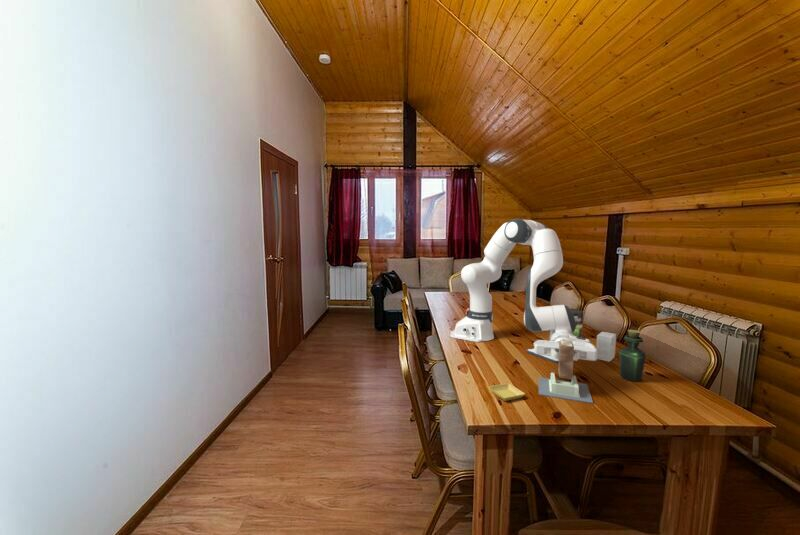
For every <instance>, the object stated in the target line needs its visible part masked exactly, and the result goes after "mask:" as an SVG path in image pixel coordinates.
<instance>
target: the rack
mask: <svg viewBox="0 0 800 535" xmlns="http://www.w3.org/2000/svg"><path fill="white" fill-rule="evenodd" d="M555 374H556V373H555V372H553V371H552V372H550V378H549V379H550V380H549V389H550V393H554V394H560V395H566V396H572V397H578V398H580V394H579V387H578V383H579V382H578V379H577V376H576V375H573V379H570V381H568V382H562V381H563V380H561V381H555V380H556V376H555ZM569 382H571V383H569Z"/></svg>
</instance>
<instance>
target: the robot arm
mask: <svg viewBox="0 0 800 535" xmlns="http://www.w3.org/2000/svg"><path fill="white" fill-rule="evenodd" d="M495 231H496V232H494V234H493V235H492V236H491V239H490V240H489V241H488V243H487V244H486V246H485V247H484V250H483V253H484V257H483V260H482V261H480V262H474V263H469V264H467V265H465V266H464V267H463V268H461V271H460V277H461V280H462V282H463V283H464V284H465V285H466V287H467V289H468V294H469V307H468V308H467V309H466V310H465V316H464V317H463V318H461V319H460V320H459V321H457V322H456V324H455V327H454V329H453V330H451V332H450V334H449V335H450V337H451V338H453V339H459V340H464V341H470V342H473V343H474V342H475V343H480V342H487V341H491V340H492V341H493V340H494V339H495V335H494V330H493V319H494V317H493V316H494V315H493V314H494V313H493V310H492V309H493V307H492V306H493V296H492V295H493V294H491V293H490V292H489V291H488V287H487V286H488V285H487V284H490V283H494V282H496V281H499V279H500V278H502V277H501V276H502V271H503V270H502V266H503V264H504V262H505V260H506V259H507V257H508V256H509V255H510V253H511V252H512V251H513V249H514V248H515V246H516V245H517V244H519V245H522V246H530V247H531V249H532V254H533V263H532V266H531V267H530V269H528V271H527V274H526V284H525V285H526V286H525V304H524V305H525V306H524V313H523V324H524V326H525V328H526V329H527V330H528V331H530V332H532V333H541V332H544V331H547V332H549V331H550V332H549V339H548V340H546V339H544V340H543V339H536V340H535V341H534V342H533V344H532V345H533V346H534V347H533V348H534V353H536V354H539V355H548V356H553V357H555V358H557V359H559V358H560V357H559V356H560V354H559V341H561V340H563V341H571V342H572V343H573V346H574V356H573V362H574V361H575V362H577V361H578V360H583V361H590V362H591V361H592V362H595V361H597V360H598V359H597V349H596V347H595V345H594V344H593V343H591V342H590V339H589V338H585V337H582V338H580V337H576V336H573V334H572V333H574V331H575V329H576V323H575V318H574V315H573V313H572V310H571V309H572V308H570V307H569V306H568V305H566V304H556V305H549V306H548V305H547V306H537V305H536V304H537V288H538V285H539V284H541V283H542V282H544V281H545V280H547V279H549V278H551V277H553V276H554V275H556V274H557V273H558V272H560V271H561V269H562V268H563V265H564V257H563V256H564V254H563V250H562V246H561V241H560V239H559V236H558V234H557V233H556V231H555V230H554V229H551V228H549V227H548V226H547V225H545V224H544V223H541V222H539V221H535V220H532V219H523V218H522V219H521V218H513V219H510V220H509V221H507V222H504V223H503V224H502V225H501V226H500V227H499V228H498V229H497V230H495Z"/></svg>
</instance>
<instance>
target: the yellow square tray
mask: <svg viewBox="0 0 800 535" xmlns="http://www.w3.org/2000/svg"><path fill="white" fill-rule="evenodd" d="M488 389H489V390H490V391H491V393H493V394H494V395H495V396H496V397H498V398H500V399H501V400H502V401H504V402H507V401H513V400H516V399H520V398H523V397H524V396H525V395H526V393H525V391H524V392H523V391H522V390H520V389H519V388H517V387H516V386H514V385H513V384H511V383H508V382H507V383H500V384H496V385H495V384H494V385H489V386H488Z"/></svg>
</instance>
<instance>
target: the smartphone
mask: <svg viewBox="0 0 800 535" xmlns="http://www.w3.org/2000/svg"><path fill="white" fill-rule="evenodd" d="M525 351H526V354H529V355H532V356H535V357H538V358H540V359H543V360H546V361H549V362H551V363H554V364H558V362H559V359H557V358H555V357H553V356H548V355H539V354H536V353H534V347H531V348H528V349H526V350H525Z"/></svg>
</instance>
